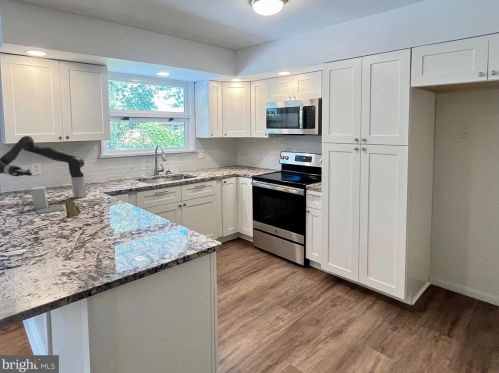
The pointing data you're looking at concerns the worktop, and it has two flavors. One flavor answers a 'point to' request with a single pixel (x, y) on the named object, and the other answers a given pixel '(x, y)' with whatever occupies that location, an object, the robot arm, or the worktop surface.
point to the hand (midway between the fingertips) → (30, 174)
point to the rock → (71, 208)
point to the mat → (49, 209)
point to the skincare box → (39, 197)
